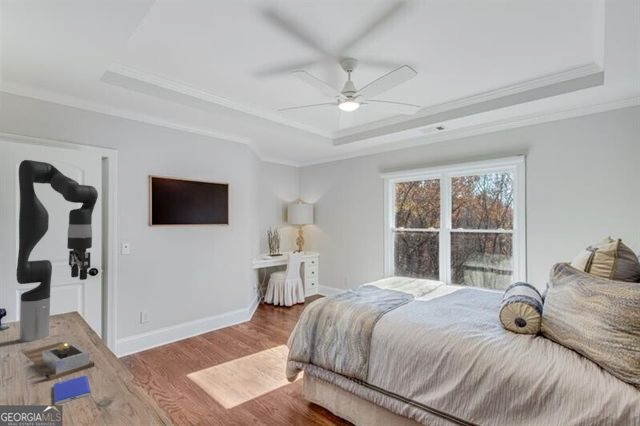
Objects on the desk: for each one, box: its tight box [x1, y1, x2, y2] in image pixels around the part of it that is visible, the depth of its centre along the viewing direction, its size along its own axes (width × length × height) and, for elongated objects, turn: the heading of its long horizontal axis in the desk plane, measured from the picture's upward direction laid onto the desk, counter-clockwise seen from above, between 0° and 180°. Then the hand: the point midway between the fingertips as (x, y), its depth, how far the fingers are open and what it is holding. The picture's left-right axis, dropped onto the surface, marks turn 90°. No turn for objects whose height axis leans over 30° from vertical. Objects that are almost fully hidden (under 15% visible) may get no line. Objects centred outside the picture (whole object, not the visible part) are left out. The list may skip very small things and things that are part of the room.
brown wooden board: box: [22, 341, 95, 381], centre depth 114 cm, size 32×12×1 cm, turn 55°
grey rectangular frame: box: [42, 342, 90, 374], centre depth 109 cm, size 14×9×4 cm, turn 55°
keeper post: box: [57, 342, 69, 359], centre depth 110 cm, size 3×3×6 cm
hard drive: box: [53, 375, 92, 406], centre depth 94 cm, size 2×8×12 cm
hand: (78, 278), depth 122 cm, fingers open, 8 cm apart
